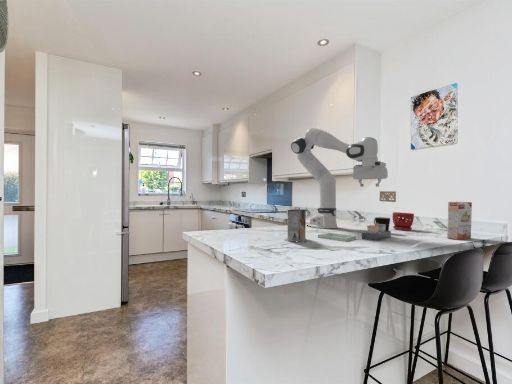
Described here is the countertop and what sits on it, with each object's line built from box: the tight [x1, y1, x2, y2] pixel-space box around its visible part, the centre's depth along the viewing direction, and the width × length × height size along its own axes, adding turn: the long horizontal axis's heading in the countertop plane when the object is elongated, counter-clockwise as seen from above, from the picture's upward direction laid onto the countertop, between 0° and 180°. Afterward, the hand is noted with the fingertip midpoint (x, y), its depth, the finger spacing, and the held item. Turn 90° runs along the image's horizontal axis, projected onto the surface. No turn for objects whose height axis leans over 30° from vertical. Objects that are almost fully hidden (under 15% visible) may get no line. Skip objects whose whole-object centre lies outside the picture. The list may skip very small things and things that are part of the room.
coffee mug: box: [373, 216, 391, 231], centre depth 171 cm, size 12×9×10 cm
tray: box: [317, 232, 357, 242], centre depth 147 cm, size 16×12×2 cm
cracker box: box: [446, 201, 473, 241], centre depth 155 cm, size 14×6×21 cm, turn 117°
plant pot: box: [392, 211, 415, 231], centre depth 191 cm, size 13×13×12 cm
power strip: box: [361, 230, 392, 242], centre depth 150 cm, size 8×20×4 cm, turn 135°
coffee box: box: [287, 208, 307, 243], centre depth 141 cm, size 9×6×16 cm
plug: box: [366, 224, 379, 234], centre depth 146 cm, size 4×5×7 cm
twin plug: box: [374, 223, 386, 232], centre depth 153 cm, size 4×5×7 cm
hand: (369, 186), depth 167 cm, fingers open, 8 cm apart
